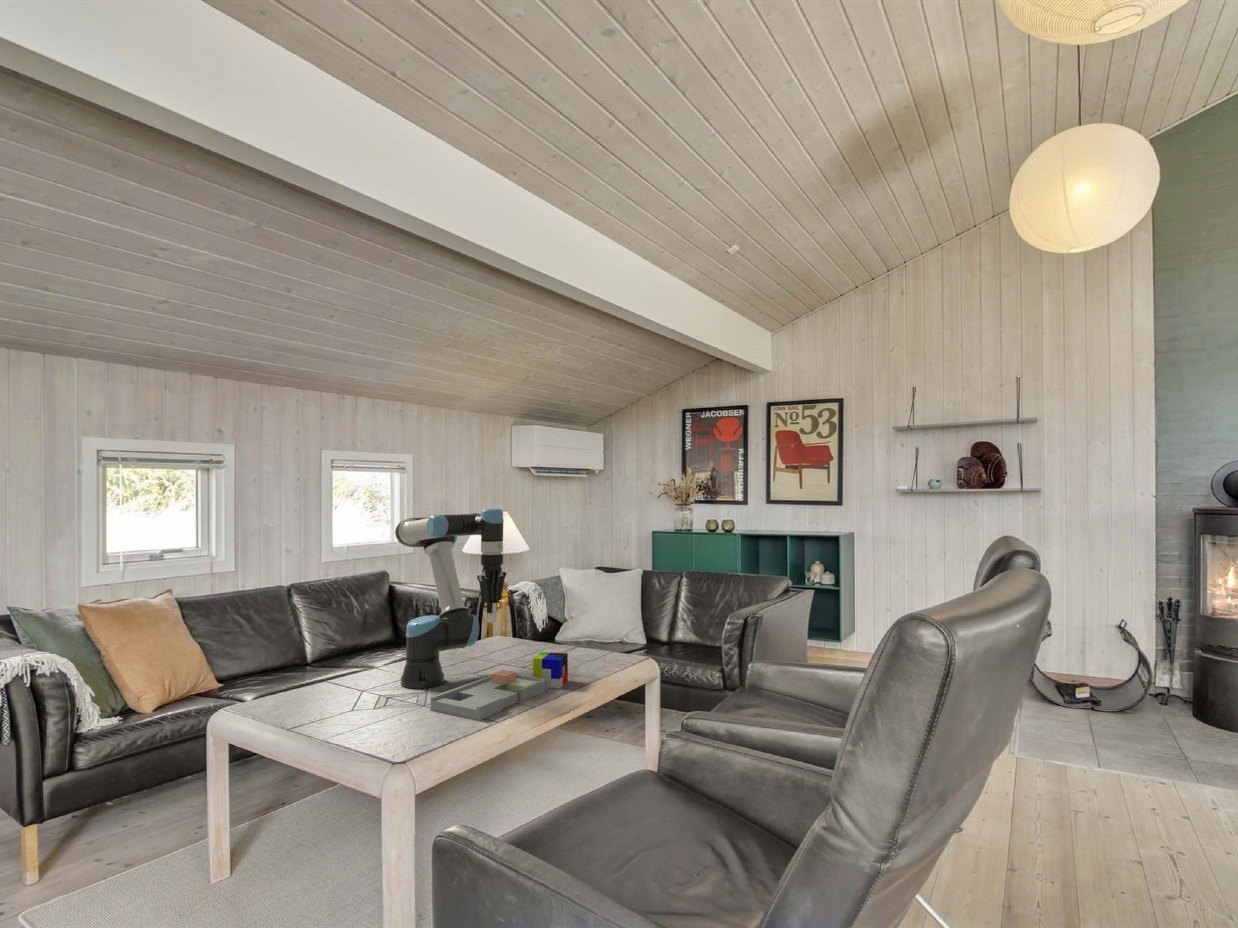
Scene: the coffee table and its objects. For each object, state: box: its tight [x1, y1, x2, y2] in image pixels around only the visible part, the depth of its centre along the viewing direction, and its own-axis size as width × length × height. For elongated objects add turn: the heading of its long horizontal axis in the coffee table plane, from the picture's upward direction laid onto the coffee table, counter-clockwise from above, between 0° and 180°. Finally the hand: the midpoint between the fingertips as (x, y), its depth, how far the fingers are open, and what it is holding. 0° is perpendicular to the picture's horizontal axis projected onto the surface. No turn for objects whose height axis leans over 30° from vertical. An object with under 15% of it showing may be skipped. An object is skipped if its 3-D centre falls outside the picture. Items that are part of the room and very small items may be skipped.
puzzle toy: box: [532, 651, 569, 689], centre depth 251 cm, size 10×10×10 cm
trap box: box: [429, 674, 548, 721], centre depth 231 cm, size 20×35×4 cm, turn 150°
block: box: [491, 669, 517, 685], centre depth 242 cm, size 6×6×3 cm
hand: (491, 622), depth 239 cm, fingers closed
